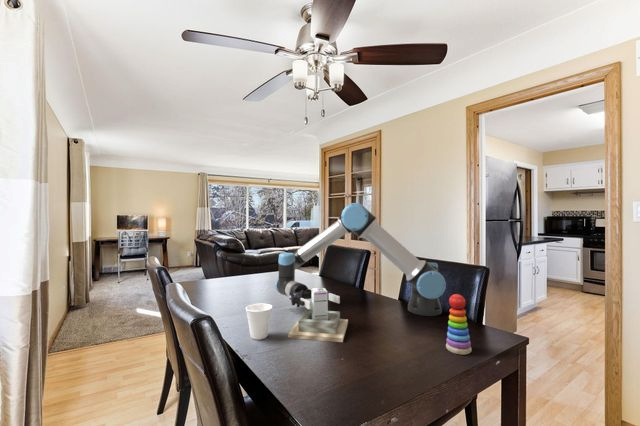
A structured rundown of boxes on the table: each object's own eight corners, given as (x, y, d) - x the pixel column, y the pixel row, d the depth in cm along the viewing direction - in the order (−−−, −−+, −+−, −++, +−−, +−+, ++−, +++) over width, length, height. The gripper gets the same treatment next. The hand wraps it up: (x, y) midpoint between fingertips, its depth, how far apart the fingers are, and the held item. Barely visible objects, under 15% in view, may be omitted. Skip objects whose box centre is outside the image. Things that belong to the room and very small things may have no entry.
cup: (277, 333, 119) (277, 304, 119) (264, 344, 109) (264, 312, 109) (254, 330, 122) (254, 302, 122) (239, 340, 112) (240, 309, 113)
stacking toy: (466, 345, 108) (466, 292, 108) (475, 356, 100) (475, 298, 100) (442, 344, 109) (443, 291, 109) (450, 355, 101) (450, 297, 101)
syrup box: (328, 328, 120) (328, 290, 120) (313, 329, 119) (313, 291, 119) (325, 323, 126) (325, 287, 126) (310, 324, 125) (311, 287, 125)
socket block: (347, 322, 131) (347, 309, 131) (342, 342, 111) (342, 326, 111) (301, 319, 134) (301, 307, 134) (288, 338, 115) (288, 323, 115)
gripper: (320, 295, 144) (349, 307, 127) (271, 304, 130) (297, 318, 113) (320, 279, 144) (350, 288, 127) (271, 286, 130) (297, 297, 113)
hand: (325, 302), depth 120 cm, fingers open, 13 cm apart
